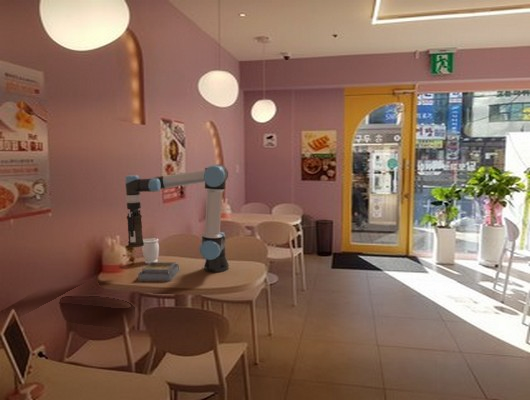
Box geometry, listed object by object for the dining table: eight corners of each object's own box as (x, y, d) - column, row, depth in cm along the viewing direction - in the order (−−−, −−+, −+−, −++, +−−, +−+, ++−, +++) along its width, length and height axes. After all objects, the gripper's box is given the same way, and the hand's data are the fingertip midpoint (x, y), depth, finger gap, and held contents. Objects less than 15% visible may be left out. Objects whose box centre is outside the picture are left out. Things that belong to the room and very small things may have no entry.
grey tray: (179, 270, 250) (179, 261, 249) (169, 281, 230) (169, 271, 229) (150, 270, 251) (150, 261, 250) (138, 281, 231) (138, 270, 230)
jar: (150, 265, 263) (149, 242, 261) (139, 262, 268) (138, 240, 266) (162, 261, 271) (161, 239, 270) (152, 258, 277) (151, 237, 275)
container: (139, 247, 235) (137, 217, 233) (125, 247, 237) (123, 216, 235) (146, 244, 244) (145, 214, 242) (133, 243, 246) (131, 214, 244)
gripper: (134, 199, 248) (136, 236, 251) (119, 204, 227) (122, 244, 230) (146, 199, 247) (148, 236, 250) (133, 204, 227) (135, 244, 230)
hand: (135, 240), depth 240 cm, fingers closed on container, 8 cm apart
